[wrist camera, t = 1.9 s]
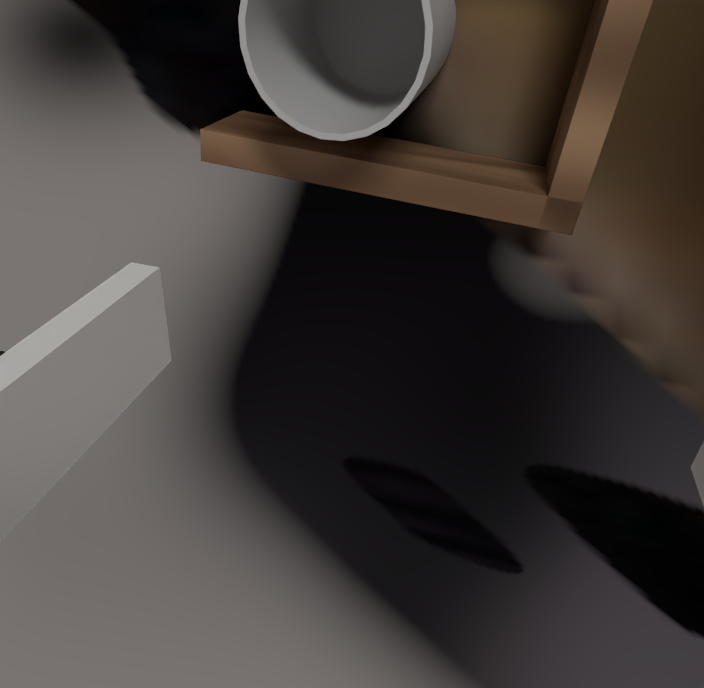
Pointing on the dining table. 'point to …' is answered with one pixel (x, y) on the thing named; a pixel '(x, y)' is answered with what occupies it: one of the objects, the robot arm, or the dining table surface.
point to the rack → (453, 165)
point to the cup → (343, 59)
